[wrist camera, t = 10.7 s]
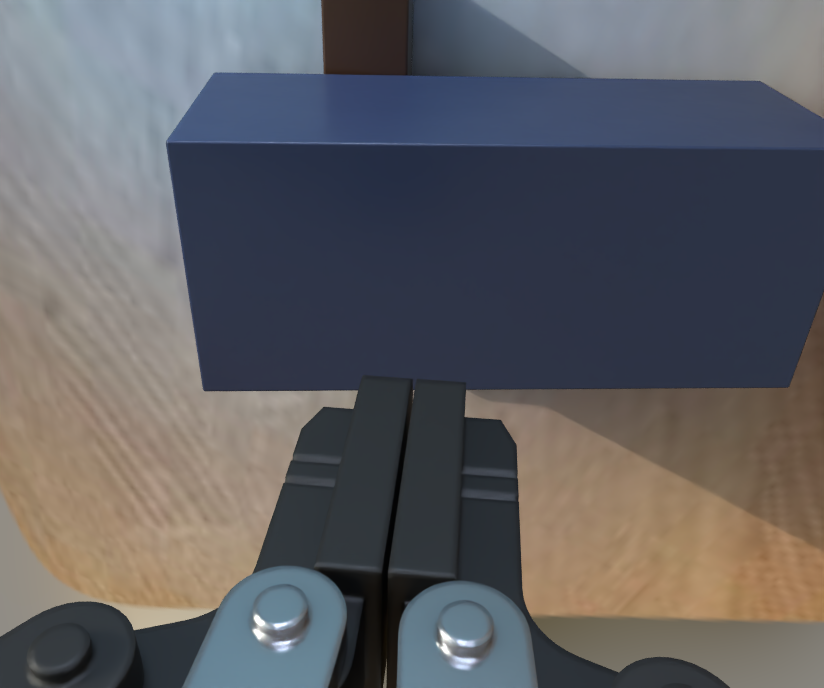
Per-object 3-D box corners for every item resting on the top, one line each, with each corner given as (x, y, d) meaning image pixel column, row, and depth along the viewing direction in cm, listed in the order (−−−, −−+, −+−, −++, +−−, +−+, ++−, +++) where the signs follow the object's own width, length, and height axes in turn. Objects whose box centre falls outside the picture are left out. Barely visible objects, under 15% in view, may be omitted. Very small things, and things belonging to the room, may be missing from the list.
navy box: (202, 392, 16) (789, 388, 17) (164, 140, 13) (876, 148, 14) (237, 282, 21) (706, 282, 21) (213, 72, 18) (761, 80, 18)
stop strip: (340, 324, 23) (332, 346, 22) (329, -42, 18) (319, -35, 17) (405, 329, 23) (401, 350, 22) (415, -38, 18) (409, -31, 17)
